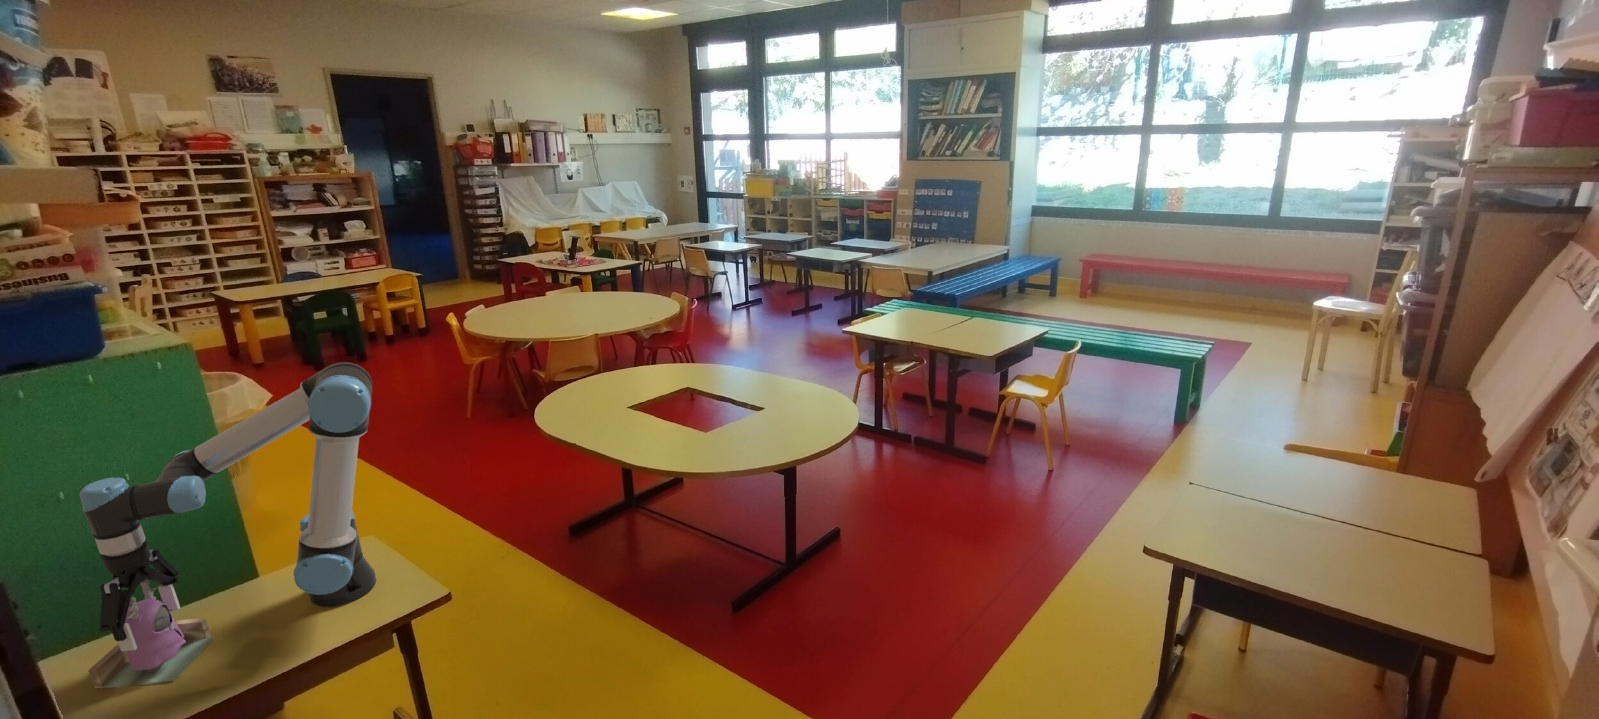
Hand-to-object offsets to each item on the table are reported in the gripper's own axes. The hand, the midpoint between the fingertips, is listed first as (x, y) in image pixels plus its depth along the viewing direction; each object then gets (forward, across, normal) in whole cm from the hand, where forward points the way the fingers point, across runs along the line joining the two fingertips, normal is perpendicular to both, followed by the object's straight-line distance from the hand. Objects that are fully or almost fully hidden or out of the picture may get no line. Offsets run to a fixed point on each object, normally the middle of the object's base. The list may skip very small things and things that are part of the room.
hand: (152, 628), depth 163 cm
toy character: (+9, 0, 0) cm, 9 cm away
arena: (+10, -1, -2) cm, 10 cm away
